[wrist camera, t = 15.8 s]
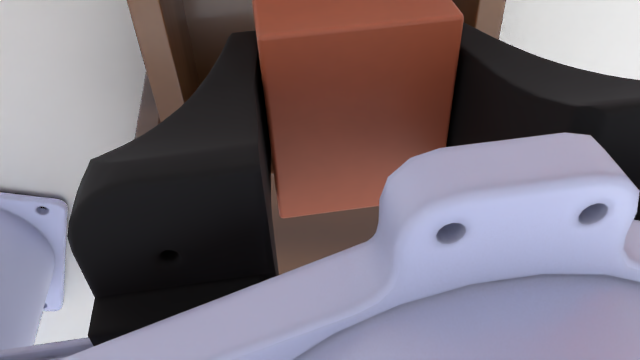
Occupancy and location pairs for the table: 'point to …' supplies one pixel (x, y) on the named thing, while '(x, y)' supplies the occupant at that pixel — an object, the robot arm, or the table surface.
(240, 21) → the drawer
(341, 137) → the block
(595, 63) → the table surface
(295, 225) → the cabinet
